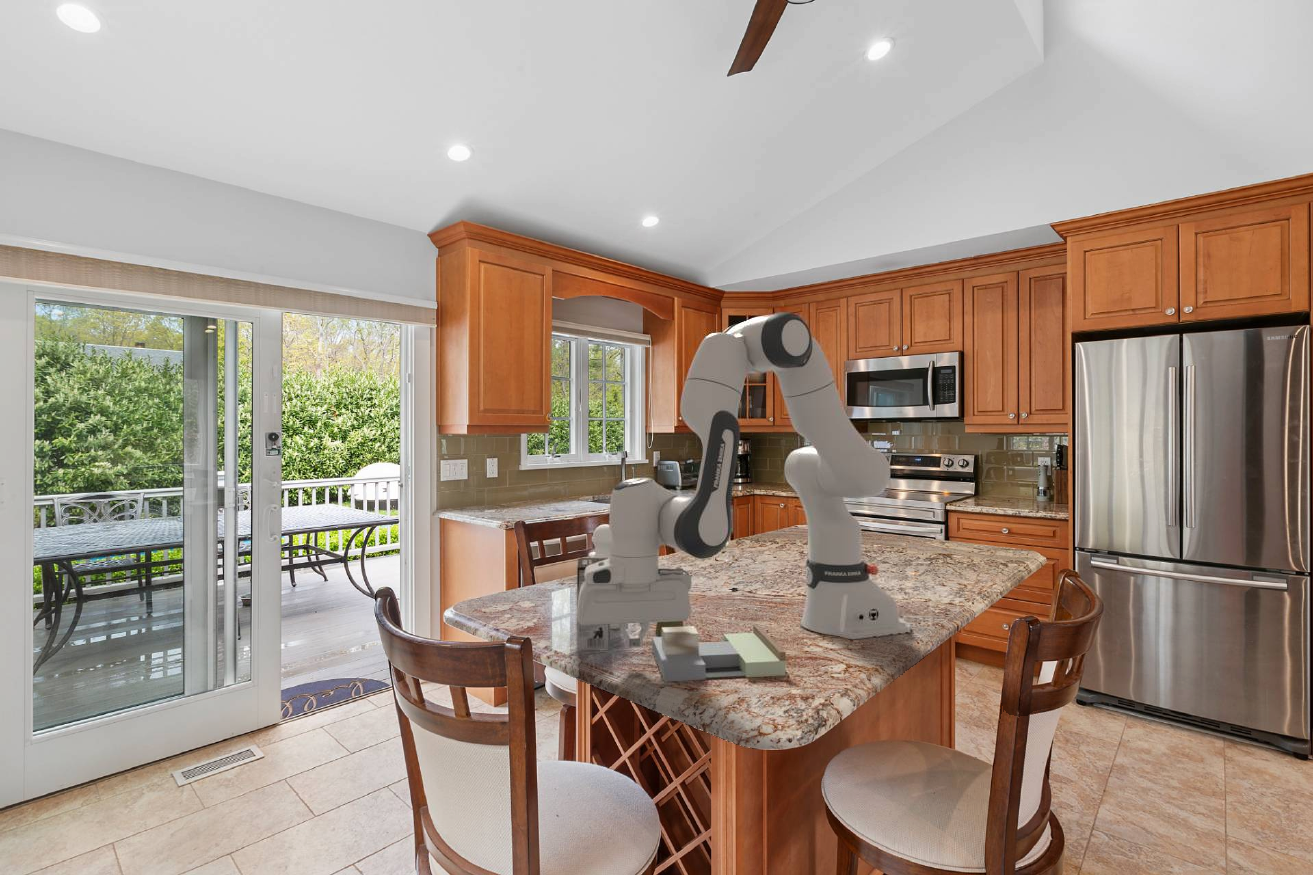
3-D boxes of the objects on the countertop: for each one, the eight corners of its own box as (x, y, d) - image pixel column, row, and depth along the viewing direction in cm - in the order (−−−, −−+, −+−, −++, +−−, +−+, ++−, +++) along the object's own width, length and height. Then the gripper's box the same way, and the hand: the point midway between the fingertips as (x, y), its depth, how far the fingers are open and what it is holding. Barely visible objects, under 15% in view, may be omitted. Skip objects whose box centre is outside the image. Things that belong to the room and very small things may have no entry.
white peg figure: (623, 628, 136) (623, 525, 136) (593, 631, 134) (593, 527, 134) (616, 620, 143) (616, 521, 143) (587, 623, 141) (587, 523, 141)
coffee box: (578, 636, 132) (578, 557, 132) (609, 635, 132) (609, 557, 132) (576, 650, 122) (576, 566, 122) (609, 649, 123) (609, 565, 123)
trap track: (758, 645, 126) (758, 624, 126) (785, 675, 110) (785, 651, 110) (652, 650, 123) (652, 629, 123) (664, 681, 107) (664, 657, 107)
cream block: (693, 645, 118) (693, 626, 118) (698, 653, 114) (698, 633, 114) (661, 646, 117) (661, 627, 117) (665, 654, 113) (665, 634, 113)
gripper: (688, 564, 119) (688, 638, 119) (577, 567, 116) (577, 643, 116) (694, 571, 113) (694, 649, 113) (577, 574, 110) (577, 655, 110)
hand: (634, 646), depth 114 cm, fingers closed
